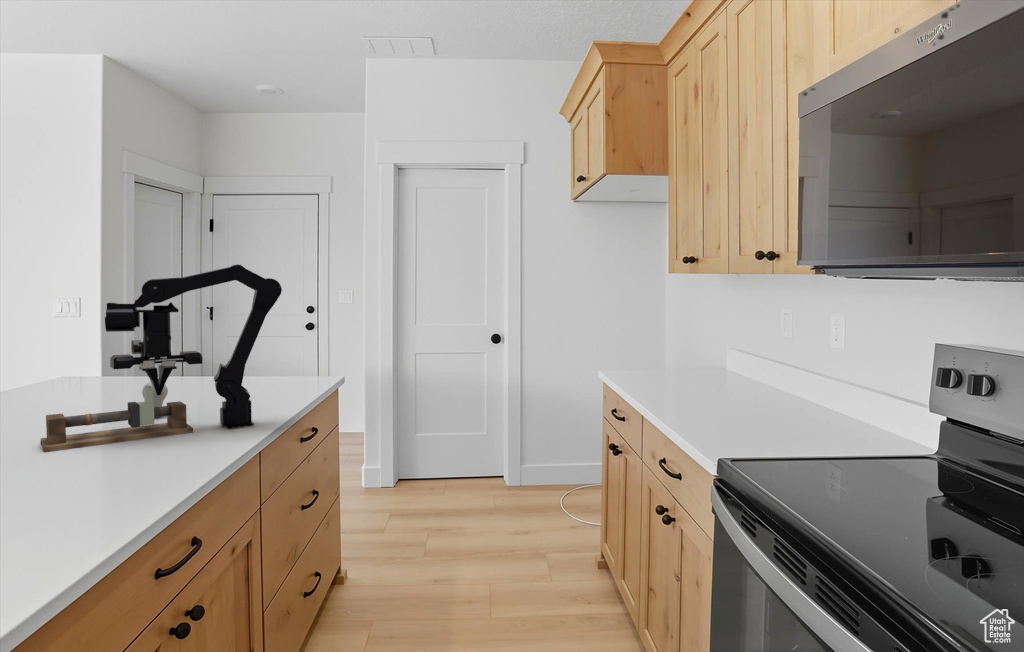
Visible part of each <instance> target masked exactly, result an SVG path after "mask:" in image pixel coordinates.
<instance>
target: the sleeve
mask: <svg viewBox="0 0 1024 652" xmlns="http://www.w3.org/2000/svg"><path fill="white" fill-rule="evenodd" d="M143 388H144V397H143V398H144V401H139V402H136V403H138V404H139V405H140V426H145V425H153V424H155V417H154V404H153V387H152V386H150V385H148V386H145V385H144V386H143Z"/></svg>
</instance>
